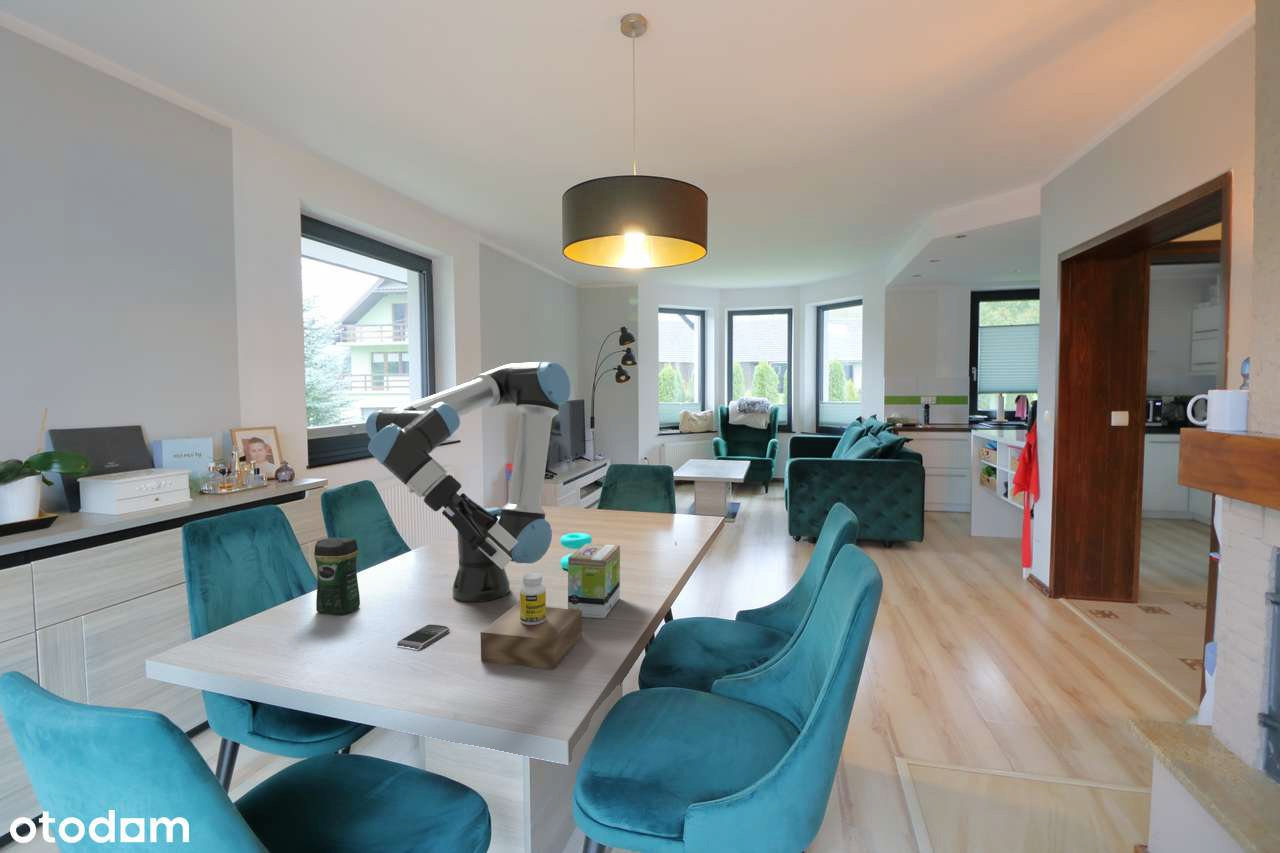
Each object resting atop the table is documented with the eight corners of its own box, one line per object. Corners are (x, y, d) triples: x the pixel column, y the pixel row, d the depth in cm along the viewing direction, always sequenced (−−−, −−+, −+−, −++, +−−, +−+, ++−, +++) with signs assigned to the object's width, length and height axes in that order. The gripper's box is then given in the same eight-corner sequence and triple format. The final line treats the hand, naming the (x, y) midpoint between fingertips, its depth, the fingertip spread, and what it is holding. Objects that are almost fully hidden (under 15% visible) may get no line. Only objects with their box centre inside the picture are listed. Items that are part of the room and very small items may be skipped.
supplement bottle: (524, 627, 118) (523, 581, 118) (517, 618, 123) (516, 574, 122) (549, 623, 121) (548, 577, 120) (541, 614, 125) (541, 570, 125)
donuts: (596, 533, 184) (584, 540, 175) (596, 563, 185) (585, 572, 175) (568, 531, 187) (555, 538, 178) (568, 561, 188) (555, 570, 178)
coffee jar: (365, 605, 148) (363, 535, 147) (344, 617, 140) (342, 542, 139) (332, 603, 150) (330, 533, 149) (310, 614, 142) (307, 541, 141)
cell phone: (451, 632, 132) (451, 626, 132) (418, 652, 121) (418, 646, 121) (429, 629, 134) (429, 623, 134) (395, 649, 123) (395, 642, 123)
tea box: (606, 619, 138) (605, 559, 137) (566, 616, 140) (565, 557, 139) (620, 598, 153) (620, 543, 152) (584, 595, 155) (584, 542, 154)
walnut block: (481, 660, 116) (480, 632, 116) (516, 629, 132) (516, 604, 132) (554, 669, 113) (553, 639, 112) (581, 636, 128) (581, 610, 128)
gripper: (436, 489, 130) (504, 551, 133) (405, 511, 106) (489, 587, 108) (459, 466, 131) (527, 528, 133) (434, 482, 106) (517, 558, 109)
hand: (510, 555), depth 121 cm, fingers open, 13 cm apart
